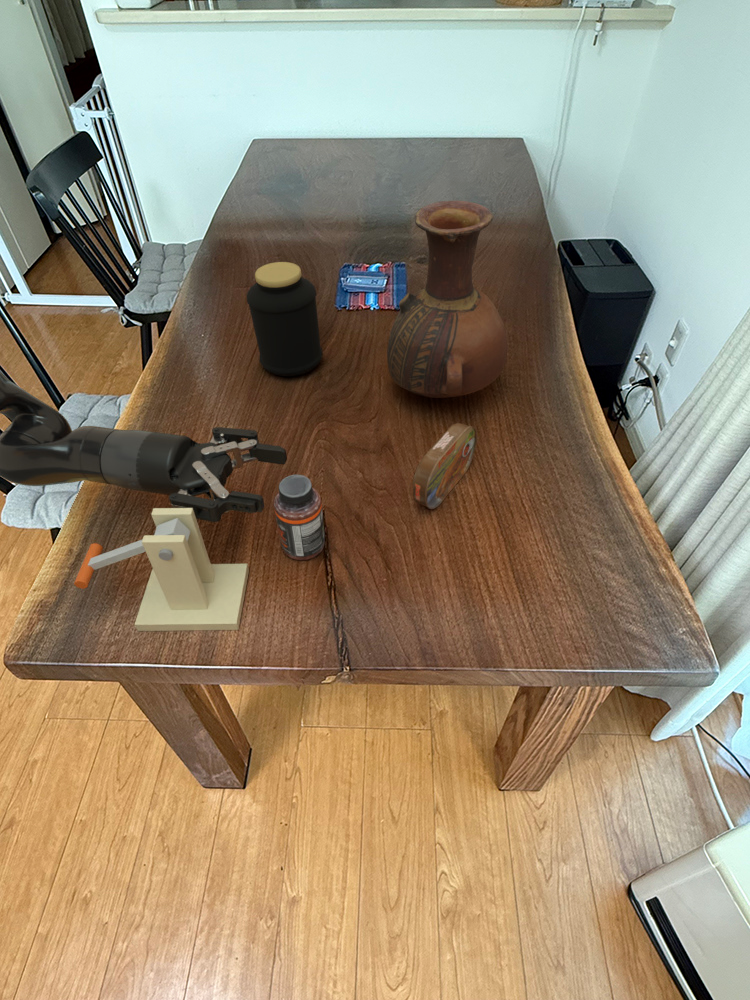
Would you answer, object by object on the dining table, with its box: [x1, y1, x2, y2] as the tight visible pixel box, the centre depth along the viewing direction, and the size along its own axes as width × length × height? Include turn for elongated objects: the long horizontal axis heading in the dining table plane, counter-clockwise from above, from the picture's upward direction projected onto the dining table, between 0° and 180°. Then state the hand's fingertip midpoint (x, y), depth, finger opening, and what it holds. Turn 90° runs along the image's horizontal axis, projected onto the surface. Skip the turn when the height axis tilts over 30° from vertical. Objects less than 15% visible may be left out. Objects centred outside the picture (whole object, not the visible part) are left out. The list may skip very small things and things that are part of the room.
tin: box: [412, 422, 478, 510], centre depth 85 cm, size 15×3×8 cm, turn 146°
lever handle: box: [73, 518, 191, 589], centre depth 67 cm, size 14×6×2 cm, turn 91°
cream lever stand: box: [134, 507, 250, 632], centre depth 69 cm, size 12×9×14 cm
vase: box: [386, 200, 508, 399], centre depth 95 cm, size 25×20×30 cm
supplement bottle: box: [273, 474, 326, 561], centre depth 76 cm, size 6×6×11 cm
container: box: [246, 261, 324, 377], centre depth 105 cm, size 12×12×18 cm
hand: (274, 479), depth 72 cm, fingers open, 8 cm apart
